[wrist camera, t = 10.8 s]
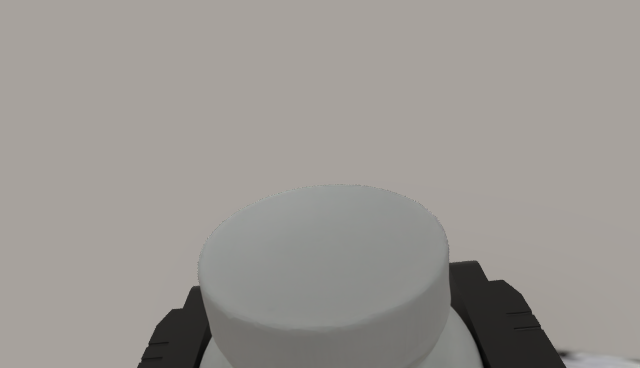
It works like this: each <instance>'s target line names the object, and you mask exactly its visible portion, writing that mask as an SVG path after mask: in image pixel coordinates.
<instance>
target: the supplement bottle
mask: <svg viewBox="0 0 640 368" xmlns="http://www.w3.org/2000/svg"><path fill="white" fill-rule="evenodd" d="M198 280H199V284H200V289H201V293H202V298H203V302H204V306H205V310H206V313H207V317H208V321H209V325H210V330H211V334H212V338H211V340H210V342H209V344H208V346H207V348H206V350H205V353H204V355H203V358H202V361H201V364H200V367H199V368H484V366H483V362H482V359H481V356H480V353H479V351H478V348H477V345H476V343H475V341H474V339H473V337H472V335H471V333H470V331H469V330H468V328H467V326H466V325H465V323H464V322H463V320H462V319H461V318H460V316H459V315H458V314H457V313H456V311H455V310H454V309H453V308H452V307H451V306H450V304H451V294H450V285H449V245H448V240H447V237H446V234H445V231H444V229H443V227H442V225H441V224H440V222H439V221H438V219H437V218H436V217H435V216H434V215H433V214H432V213H431V212H430V211H428V210H427V209H426V208H425V207H424V206H422V205H421V204H420V203H418V202H416V201H414V200H412V199H410V198H407V197H406V196H402V195H400V194H397V193H394V192H391V191H388V190H384V189H380V188H375V187H369V186H361V185H343V184H341V185H320V186H311V187H304V188H299V189H294V190H289V191H285V192H281V193H278V194H275V195H271V196H269V197H266V198H264V199H261V200H259V201H257V202H255V203H253V204H251V205H248V206H246V207H245V208H243V209H241V210H239V211H237V212H236V213H234V214H233V215H232V216H230V217H229V218H228V219H226V220H225V221H224V222H222V223H221V224H220V225H219V226H218V227H217V228H216V229H215V230H214V232H213V233H212V234H211V235H210V237H209V238H208V239H207V241H206V243H205V244H204V246H203V249H202V251H201V254H200V257H199V262H198Z"/></svg>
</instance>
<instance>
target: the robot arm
mask: <svg viewBox="0 0 640 368" xmlns="http://www.w3.org/2000/svg"><path fill="white" fill-rule="evenodd" d="M449 285H450V294H451V304H450V306H451V307H452V308H453V309H454V310H455V311H456V313H457V314H458V315H459V316H460V318H461V319H462V320H463V322H464V323H465V325H466V326H467V328H468V330H469V331H470V333H471V335H472V337H473V339H474V341H475V343H476V345H477V348H478V351H479V353H480V356H481V359H482V362H483V366H484V368H566V366H565V365H564V363H563V361H562V360H561V358H560V356H559V355H558V353H557V352H556V350H555V348H554V347H553V345H552V343H551V342H550V340H549V338H548V337H547V335H546V334H545V332H544V330H542V329H541V325H540V324H539V322H538V321H537V319H536V317H535V316H534V315H532V311H531V309H530V307H529V306H528V304H527V303H526V301H525V299H524V298H523V296H522V294H521V293H519V292H518V291H517V290H515V289H514V288H513V287H512V286H510V285H509V284H508V283H506V282H505V281H504V280H496V281H488V279H487V278H486V276H485V274H484V272H483V270H482V268H481V266H480V265H479V263H478V262H477V261H464V262H455V263H449ZM211 338H212V334H211V330H210V325H209V321H208V317H207V313H206V310H205V306H204V302H203V298H202V293H201V289H200V286H193V287H192V288H191V290H190V292H189V295H188V297H187V300H186V302H185V304H184V307H183V308H182V309H172V310H171V311H170V312H169V313H168V314H167V315H166V317H164V318H163V320H162V321H161V322H160V323H159V324H158V325H157V326H156V328H155V330H154V333H153V335H152V337H151V339H150V341H149V346H148V347H147V348H146V350H145V352H144V354H143V356H142V358H141V359H142V361H141V363H139V365H138V367H137V368H199V367H200V364H201V361H202V358H203V355H204V353H205V350H206V348H207V346H208V344H209V342H210V340H211Z"/></svg>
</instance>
